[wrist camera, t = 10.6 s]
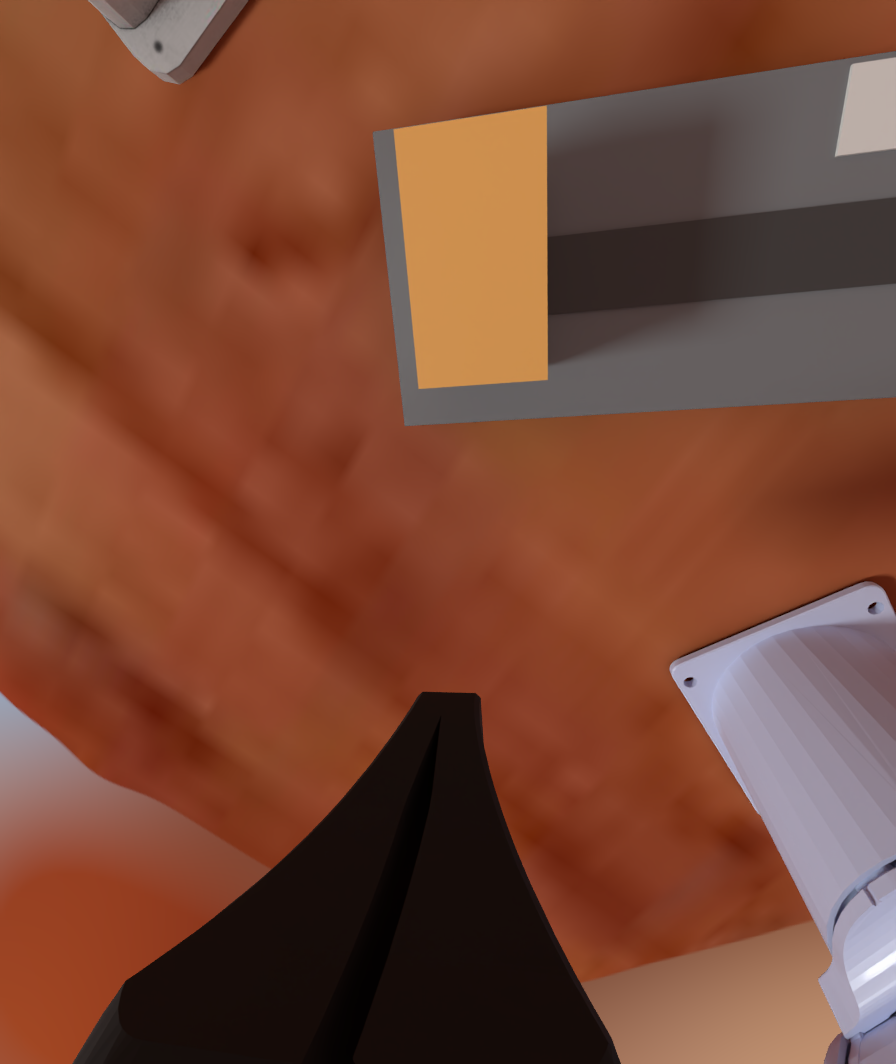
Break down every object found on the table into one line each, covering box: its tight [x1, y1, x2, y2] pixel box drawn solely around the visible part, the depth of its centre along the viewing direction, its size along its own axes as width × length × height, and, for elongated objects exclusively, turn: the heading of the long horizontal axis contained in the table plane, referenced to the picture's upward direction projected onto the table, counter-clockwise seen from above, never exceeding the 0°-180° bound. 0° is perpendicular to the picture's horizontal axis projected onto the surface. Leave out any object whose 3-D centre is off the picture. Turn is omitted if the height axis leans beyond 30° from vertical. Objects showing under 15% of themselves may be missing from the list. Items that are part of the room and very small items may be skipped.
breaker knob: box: [394, 106, 548, 389], centre depth 12 cm, size 3×5×4 cm, turn 5°
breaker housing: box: [373, 51, 896, 426], centre depth 14 cm, size 16×8×2 cm, turn 95°
